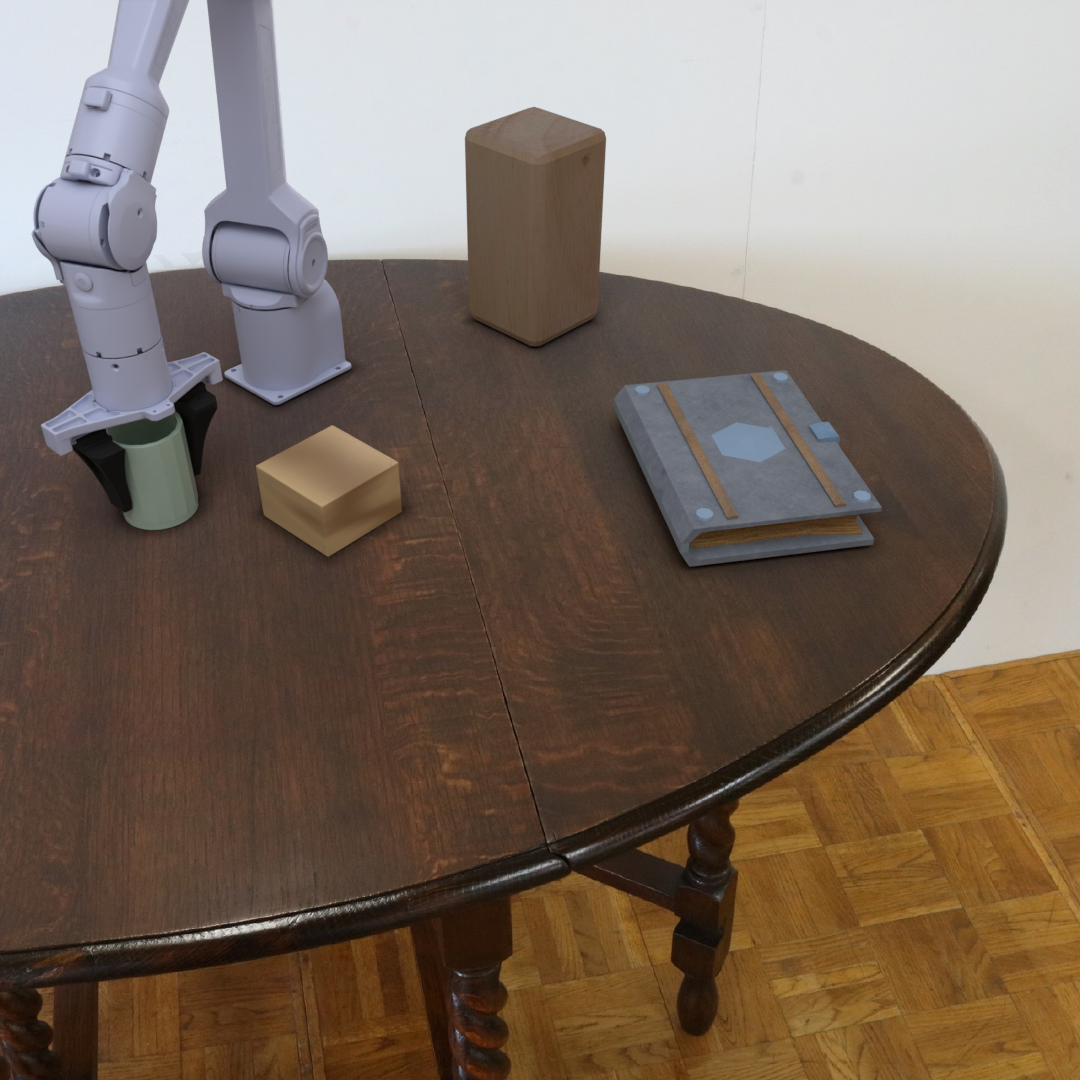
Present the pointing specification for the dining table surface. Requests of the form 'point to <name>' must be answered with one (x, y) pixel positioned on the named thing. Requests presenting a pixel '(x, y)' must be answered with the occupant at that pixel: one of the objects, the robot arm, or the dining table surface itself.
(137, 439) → the cup
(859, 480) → the book
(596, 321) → the dining table surface
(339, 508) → the block
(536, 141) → the wooden block
